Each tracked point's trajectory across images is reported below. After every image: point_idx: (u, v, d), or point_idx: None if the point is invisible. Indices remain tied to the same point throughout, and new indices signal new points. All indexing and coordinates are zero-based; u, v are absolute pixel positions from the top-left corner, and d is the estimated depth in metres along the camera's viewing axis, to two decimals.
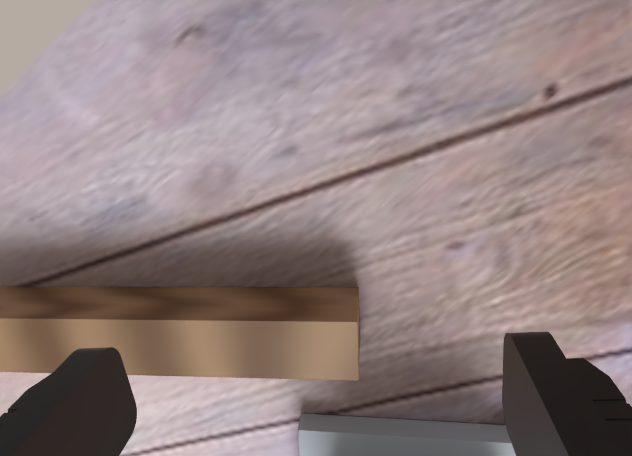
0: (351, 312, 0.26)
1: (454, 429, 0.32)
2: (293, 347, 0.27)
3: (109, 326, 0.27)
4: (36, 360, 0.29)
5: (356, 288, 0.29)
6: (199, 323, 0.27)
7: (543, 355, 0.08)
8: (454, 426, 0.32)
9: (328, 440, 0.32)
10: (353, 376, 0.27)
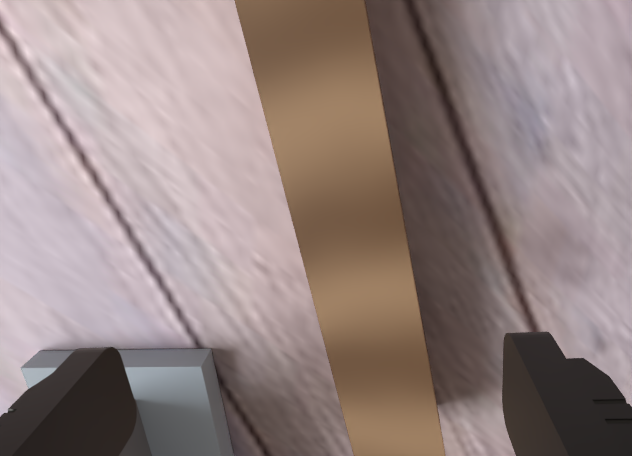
0: None
1: None
2: (392, 402, 0.20)
3: (375, 151, 0.16)
4: (264, 2, 0.15)
5: None
6: (410, 288, 0.18)
7: (543, 355, 0.08)
8: None
9: (194, 400, 0.24)
10: None
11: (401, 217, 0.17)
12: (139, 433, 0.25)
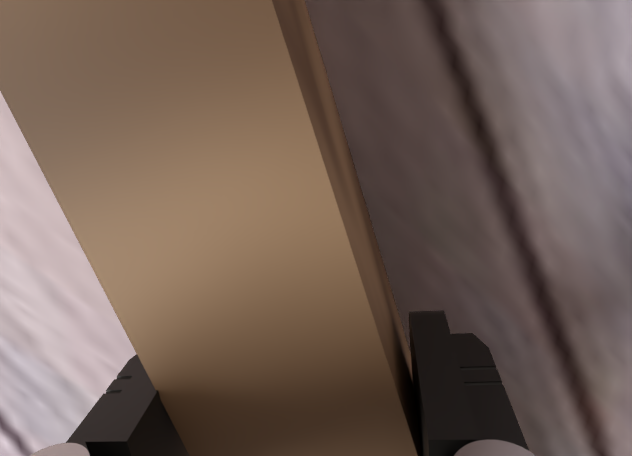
0: None
1: None
2: None
3: (333, 300, 0.07)
4: None
5: None
6: None
7: (431, 329, 0.09)
8: None
9: None
10: None
11: (405, 424, 0.08)
12: None
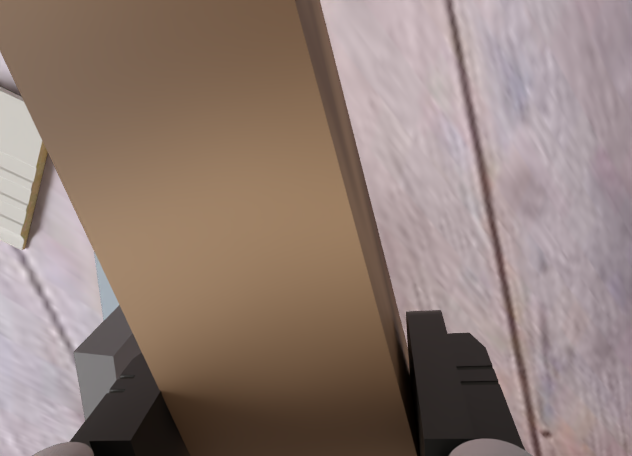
0: None
1: None
2: None
3: (341, 305, 0.07)
4: None
5: None
6: None
7: (428, 329, 0.09)
8: None
9: None
10: None
11: (407, 429, 0.08)
12: None
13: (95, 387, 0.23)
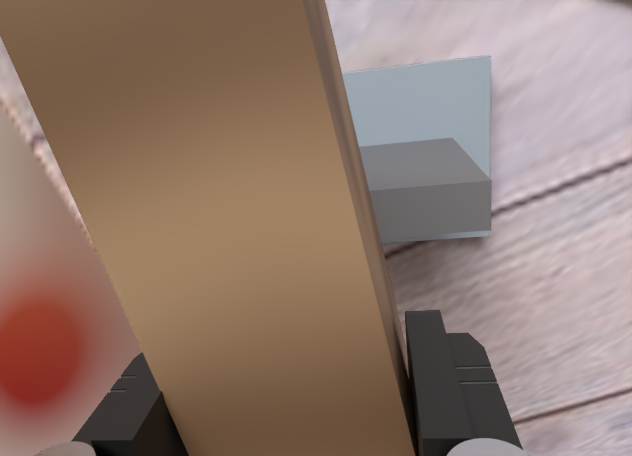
0: None
1: None
2: None
3: (344, 307, 0.07)
4: None
5: None
6: None
7: (427, 329, 0.09)
8: None
9: None
10: None
11: (407, 432, 0.08)
12: None
13: (437, 206, 0.18)
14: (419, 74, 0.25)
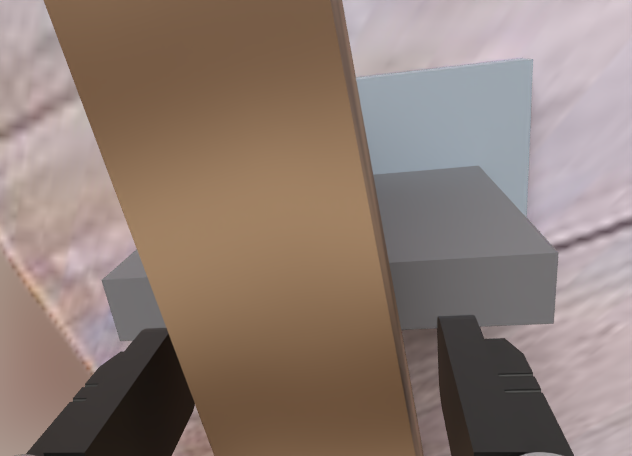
0: None
1: None
2: None
3: (354, 292, 0.08)
4: None
5: None
6: None
7: (464, 334, 0.09)
8: None
9: None
10: None
11: (404, 408, 0.09)
12: None
13: (473, 287, 0.12)
14: (437, 83, 0.19)
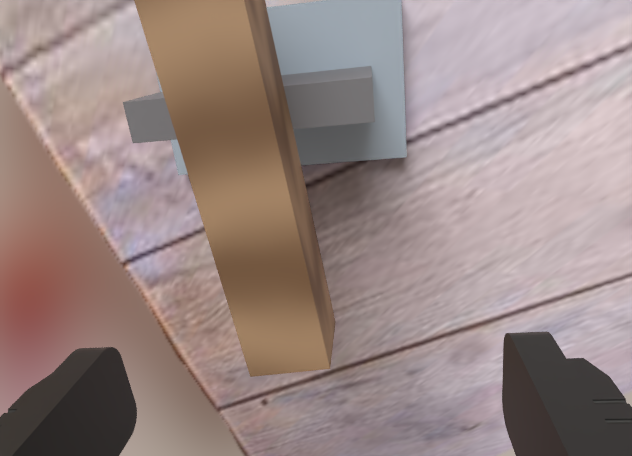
0: (329, 350, 0.23)
1: None
2: (277, 307, 0.22)
3: (244, 59, 0.18)
4: None
5: (334, 325, 0.26)
6: (285, 194, 0.19)
7: (543, 355, 0.08)
8: None
9: (374, 148, 0.31)
10: (254, 371, 0.23)
11: (272, 124, 0.18)
12: None
13: (329, 100, 0.22)
14: (340, 7, 0.28)
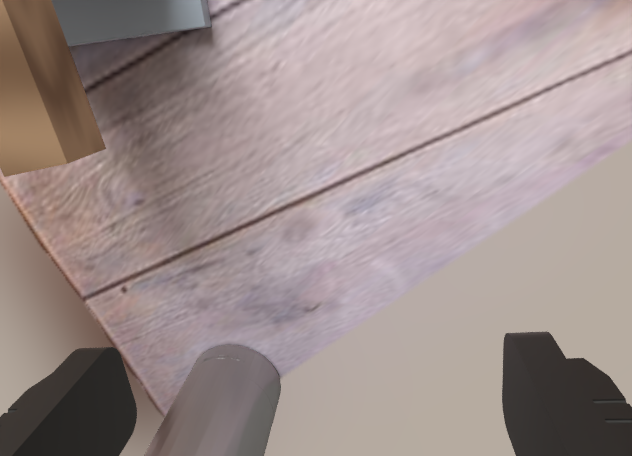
0: (75, 153, 0.26)
1: (81, 44, 0.37)
2: (10, 102, 0.25)
3: None
4: None
5: (101, 148, 0.29)
6: None
7: (543, 355, 0.08)
8: (82, 44, 0.37)
9: (176, 18, 0.35)
10: (6, 170, 0.26)
11: None
12: None
13: None
14: None
